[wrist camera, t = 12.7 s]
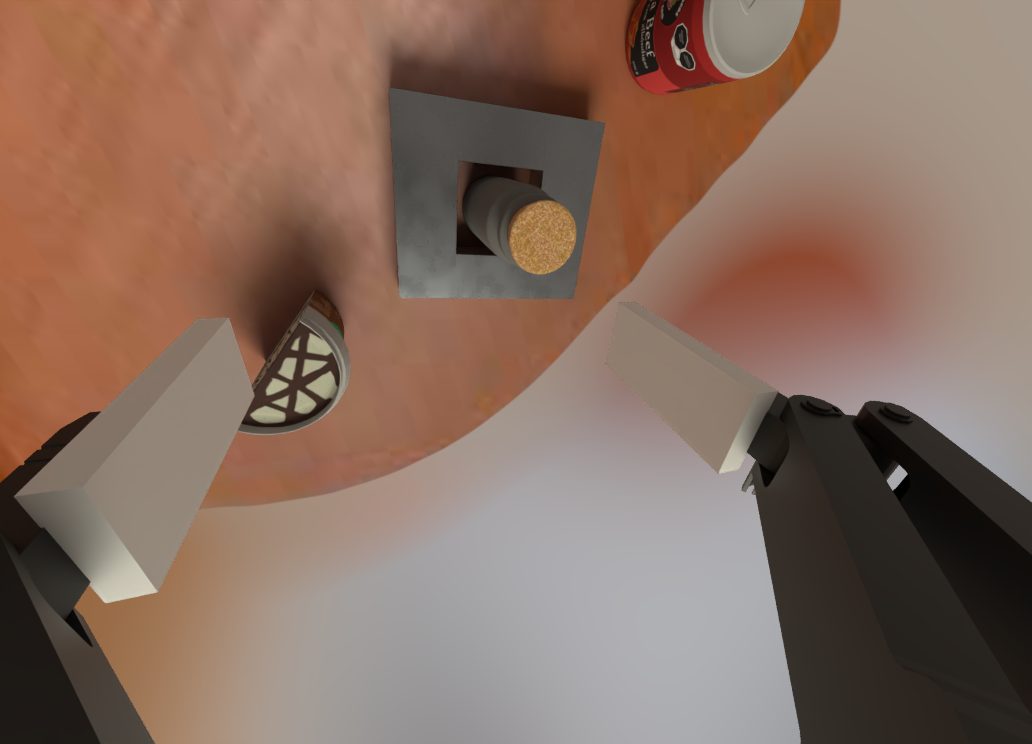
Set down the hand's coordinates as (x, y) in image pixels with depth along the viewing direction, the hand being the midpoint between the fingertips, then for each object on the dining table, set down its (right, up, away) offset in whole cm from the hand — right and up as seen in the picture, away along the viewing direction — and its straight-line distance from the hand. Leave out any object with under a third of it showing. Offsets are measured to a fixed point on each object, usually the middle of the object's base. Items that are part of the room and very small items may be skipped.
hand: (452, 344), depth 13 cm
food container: (-18, +2, +25) cm, 31 cm away
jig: (0, +15, +24) cm, 28 cm away
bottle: (0, +15, +24) cm, 28 cm away
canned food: (+15, +29, +21) cm, 39 cm away
